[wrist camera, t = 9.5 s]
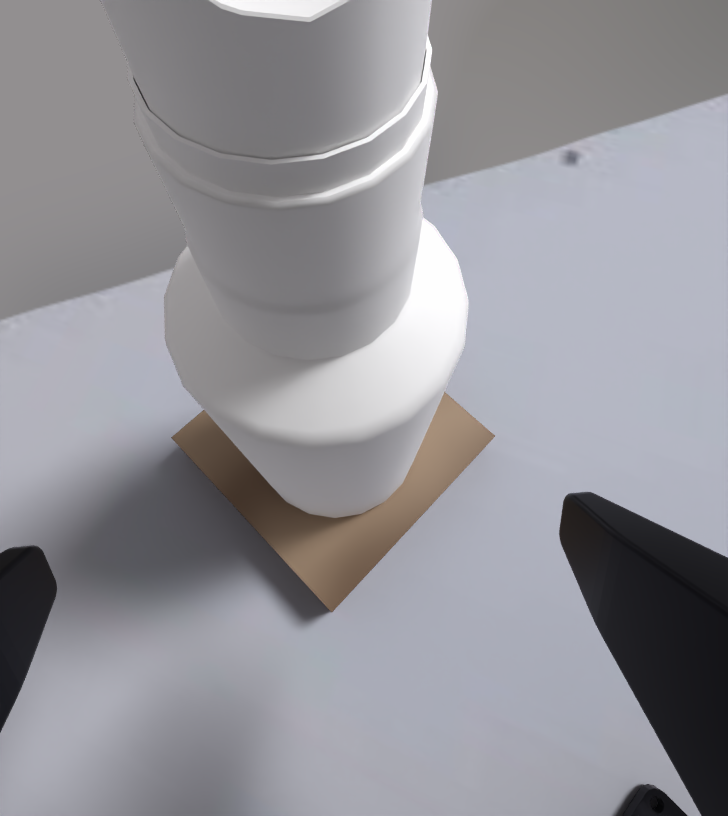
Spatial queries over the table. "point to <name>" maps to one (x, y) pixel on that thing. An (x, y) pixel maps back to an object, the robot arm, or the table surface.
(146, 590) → the table surface
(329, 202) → the spray bottle
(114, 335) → the table surface
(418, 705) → the table surface
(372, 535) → the brown flat square block
